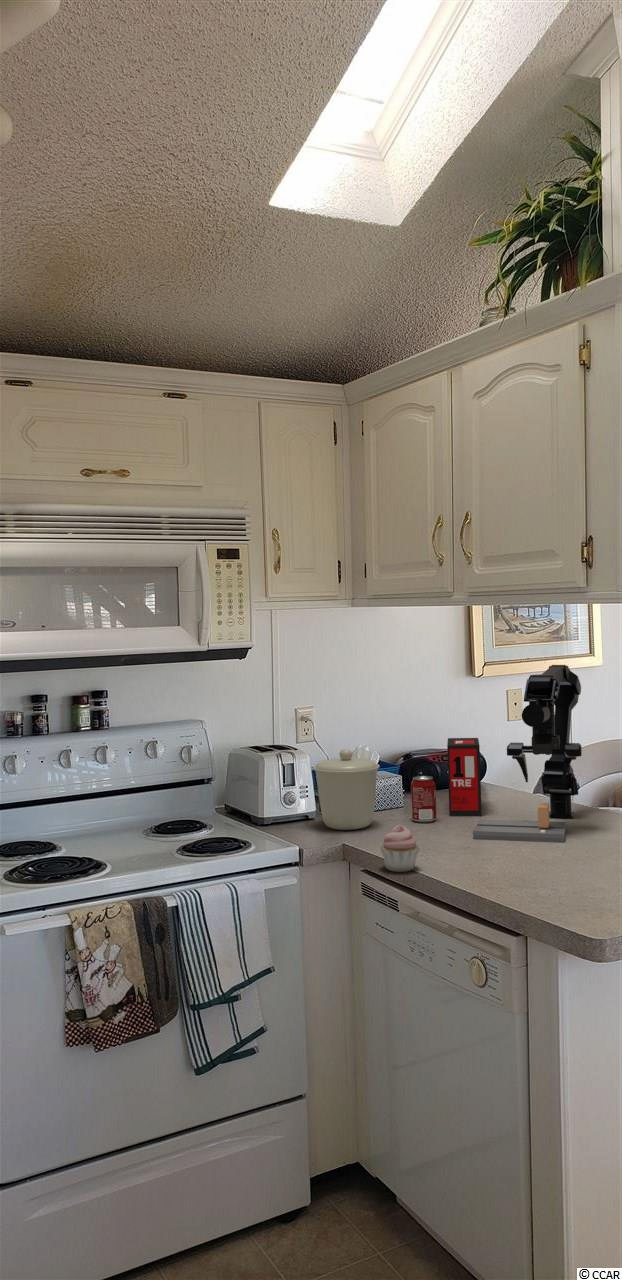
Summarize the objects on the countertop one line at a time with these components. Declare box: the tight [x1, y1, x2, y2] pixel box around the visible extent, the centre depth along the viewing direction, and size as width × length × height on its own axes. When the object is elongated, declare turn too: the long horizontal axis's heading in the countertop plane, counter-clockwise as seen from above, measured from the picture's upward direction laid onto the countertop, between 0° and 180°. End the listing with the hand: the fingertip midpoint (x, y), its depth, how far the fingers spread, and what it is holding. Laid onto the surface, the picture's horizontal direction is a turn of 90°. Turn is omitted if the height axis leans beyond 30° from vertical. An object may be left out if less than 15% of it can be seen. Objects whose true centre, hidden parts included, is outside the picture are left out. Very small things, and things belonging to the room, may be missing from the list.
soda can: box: [410, 775, 437, 824], centre depth 258 cm, size 7×7×12 cm
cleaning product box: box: [446, 737, 482, 817], centre depth 270 cm, size 16×9×20 cm, turn 171°
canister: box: [312, 748, 380, 831], centre depth 254 cm, size 18×18×21 cm
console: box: [472, 818, 567, 843], centre depth 238 cm, size 14×22×2 cm, turn 72°
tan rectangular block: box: [537, 802, 551, 828], centre depth 236 cm, size 6×2×6 cm, turn 162°
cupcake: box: [378, 823, 421, 873], centre depth 209 cm, size 9×9×10 cm
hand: (545, 782), depth 244 cm, fingers open, 9 cm apart
